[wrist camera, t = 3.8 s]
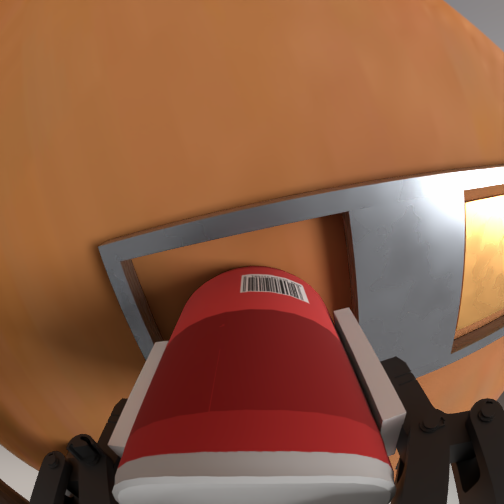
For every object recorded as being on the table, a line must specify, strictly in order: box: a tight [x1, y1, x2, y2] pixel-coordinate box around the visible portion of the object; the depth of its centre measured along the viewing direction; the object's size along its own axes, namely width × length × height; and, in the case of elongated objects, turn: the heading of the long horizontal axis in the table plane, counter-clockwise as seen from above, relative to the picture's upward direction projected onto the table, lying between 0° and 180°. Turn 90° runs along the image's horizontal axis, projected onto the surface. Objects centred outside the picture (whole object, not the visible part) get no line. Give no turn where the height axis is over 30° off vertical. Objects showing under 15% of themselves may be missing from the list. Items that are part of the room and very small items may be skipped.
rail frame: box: [98, 164, 504, 378], centre depth 14 cm, size 31×13×1 cm, turn 103°
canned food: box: [112, 266, 397, 504], centre depth 10 cm, size 8×8×11 cm
